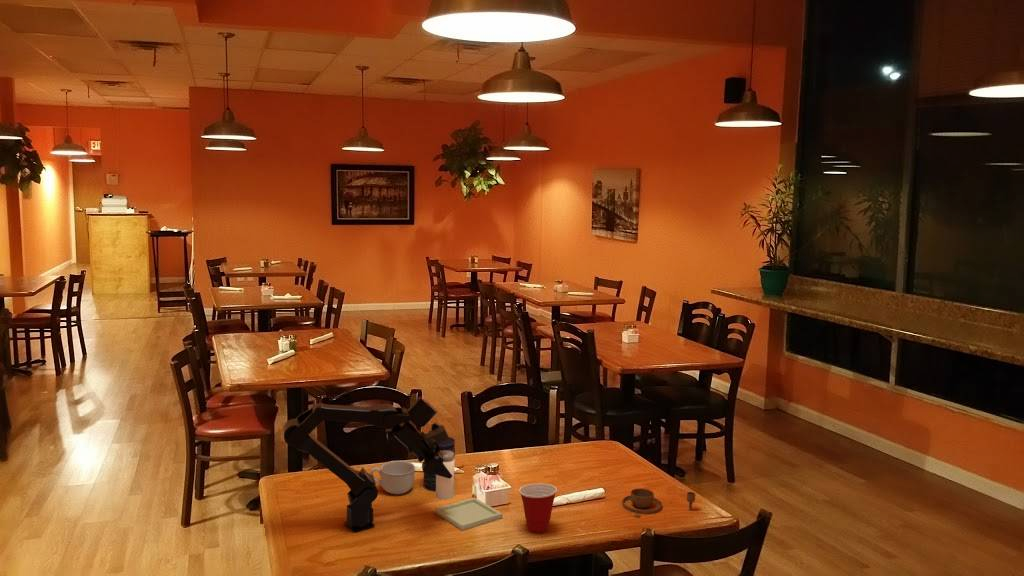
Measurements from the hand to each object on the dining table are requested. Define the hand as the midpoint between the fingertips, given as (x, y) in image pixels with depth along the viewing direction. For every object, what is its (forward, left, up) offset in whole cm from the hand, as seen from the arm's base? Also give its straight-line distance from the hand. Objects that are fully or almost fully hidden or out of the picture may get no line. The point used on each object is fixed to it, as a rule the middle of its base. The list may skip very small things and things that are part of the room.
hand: (449, 473), depth 223 cm
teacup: (-4, +27, -14) cm, 30 cm away
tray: (+5, -2, -13) cm, 15 cm away
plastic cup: (+16, -20, -14) cm, 29 cm away
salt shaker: (-1, +1, -7) cm, 7 cm away
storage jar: (+10, +22, -14) cm, 28 cm away
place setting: (+54, -30, -14) cm, 63 cm away
